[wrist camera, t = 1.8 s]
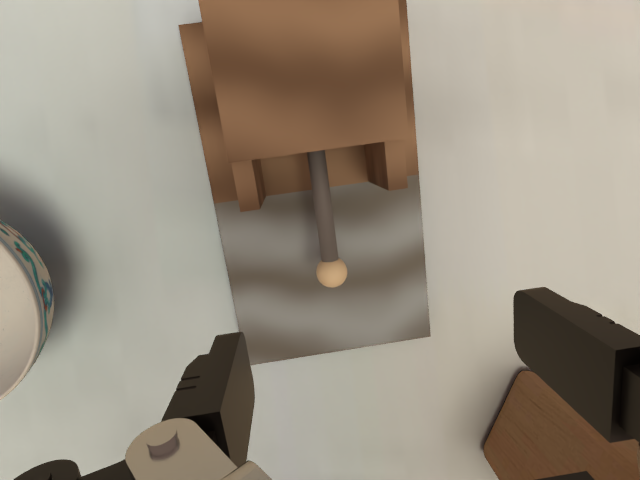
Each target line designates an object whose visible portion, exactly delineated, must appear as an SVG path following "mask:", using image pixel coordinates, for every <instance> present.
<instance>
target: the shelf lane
mask: <svg viewBox="0 0 640 480" xmlns="http://www.w3.org/2000/svg"><path fill="white" fill-rule="evenodd" d="M198 1H199V6H200V12H201V17H202V22H200V23H192V24H184V25H179V30H180V35H181V40H182V45H183V50H184V55H185V60H186V65H187V70H188V75H189V80H190V85H191V90H192V95H193V100H194V105H195V110H196V115H197V120H198V125H199V130H200V135H201V140H202V145H203V150H204V155H205V160H206V165H207V170H208V175H209V180H210V185H211V190H212V195H213V200H214V205H215V210H216V215H217V221H218V226H219V231H220V236H221V241H222V246H223V251H224V256H225V261H226V266H227V271H228V276H229V281H230V286H231V291H232V296H233V301H234V306H235V311H236V316H237V321H238V326H239V331H240V332H243V333H244V336H245V340H246V345H247V350H248V356H249V361H250V365H255V364H261V363H267V362H273V361H280V360H286V359H292V358H298V357H305V356H311V355H317V354H323V353H330V352H336V351H342V350H348V349H355V348H361V347H367V346H373V345H380V344H386V343H392V342H398V341H405V340H411V339H417V338H423V337H430V323H429V309H428V295H427V282H426V268H425V254H424V240H423V226H422V212H421V199H420V185H419V171H418V157H417V143H416V129H415V115H414V102H413V88H412V74H411V60H410V46H409V32H408V19H407V5H406V0H198ZM320 150H325V155H326V163H327V171H328V179H329V187H330V195H331V202H332V210H333V218H334V226H335V234H336V242H337V250H338V257H339V258H340V259H341V260H342V261H343V262H344V263H345V265H346V267H347V277H346V279H345V281H344V282H343V283H342V284H341V285H340V286H337V287H333V288H331V287H326V286H324V285H323V284H321V283H320V281H319V280H318V278H317V275H316V269H317V266H318V264H319V262H320V261H321V260H322V259H321V252H320V245H319V238H318V230H317V223H316V216H315V209H314V201H313V194H312V187H311V180H310V172H309V165H308V158H307V152H313V151H320Z"/></svg>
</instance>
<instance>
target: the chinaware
mask: <svg viewBox="0 0 640 480" xmlns="http://www.w3.org/2000/svg"><path fill="white" fill-rule="evenodd" d="M53 312H54V294H53V287H52V283H51V279H50V276H49V273H48V271H47V268H46V266H45V264H44V262H43V260H42V259H41V257H40V256H39V254H38V253H37V251H36V250H35V249H34V248H33V246H32V245H31V244H30V243H29V242H28V241H27V240H26V239H25V238H24V237H23V236H22V235H21V234H20V233H19V232H17V231H16V230H15V229H13V228H12V227H11V226H9V225H8V224H6V223H5V222H3V221H1V220H0V400H1V399H2V398H4V397H5V396H6V395H8V394H9V393H10V392H11V391H12V390H13V389H14V388H15V387H16V386H17V385H18V384H19V383H20V382H21V381H22V379H23V378H24V377H25V376H26V374H27V373H28V372H29V370H30V369H31V367H32V366H33V364H34V363H35V361H36V359H37V358H38V356H39V354H40V352H41V351H42V349H43V347H44V344H45V342H46V340H47V337H48V334H49V331H50V328H51V324H52V319H53Z"/></svg>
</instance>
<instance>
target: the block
mask: <svg viewBox="0 0 640 480" xmlns="http://www.w3.org/2000/svg"><path fill="white" fill-rule="evenodd" d="M637 446H638V441H636V440H635V439H631V440H625V441H619V442H613V443H609V442H608V441H607V440H606V439H605V438H604V437H603V436H602V435H601V434H600V433H599V432H598V431H596V430H595V429H594V428H593V427H592V426H591V425H590V424H589V423H588V422H587V421H586V420H585V419H584V418H583V417H581V416H580V415H579V414H578V413H577V412H576V411H575V410H574V409H573V408H572V407H571V406H570V405H569V404H568V403H567V402H565V401H564V400H563V399H562V398H561V397H560V396H559V395H558V394H557V393H556V392H555V391H554V390H553V389H552V388H550V387H549V386H548V385H547V384H546V383H545V382H544V381H543V380H542V379H541V378H540V377H539V376H538V375H537V374H536V373H534V372H531V371H521V372H520V373H519V374H518V375H517V377H516V379H515V381H514V384H513V386H512V388H511V390H510V392H509V394H508V396H507V398H506V400H505V402H504V405H503V407H502V409H501V411H500V413H499V415H498V417H497V419H496V421H495V424H494V426H493V428H492V430H491V432H490V434H489V436H488V438H487V440H486V443H485V445H484V455H485V458H486V459H487V461H488V463H489V464H490V466H491V467H492V469H493V471H494V472H495V474H496V475H497V477H498V479H499V480H536V479H542V478H547V477H553V476H559V475H565V474H571V473H577V472H583V471H587V472H588V473H589V474H590V475H591V476H592V477H593V478H594V480H640V477H639V469H638V462H637Z"/></svg>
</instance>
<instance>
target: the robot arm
mask: <svg viewBox="0 0 640 480" xmlns="http://www.w3.org/2000/svg"><path fill="white" fill-rule="evenodd" d="M514 344H515V348H516V351H517V353H518V355H519V357H520V359H521V360H522V361H523V362H524V363H525V364H526V365H527V366H528V367H529V368H530V369H531V370H532V371H533V372H534V373H536V374H537V375H538V376H539V377H540V378H541V379H542V380H543V381H544V382H545V383H546V384H547V385H548V386H549V387H550V388H552V389H553V390H554V391H555V392H556V393H557V394H558V395H559V396H560V397H561V398H562V399H563V400H564V401H565V402H567V403H568V404H569V405H570V406H571V407H572V408H573V409H574V410H575V411H576V412H577V413H578V414H579V415H580V416H581V417H583V418H584V419H585V420H586V421H587V422H588V423H589V424H590V425H591V426H592V427H593V428H594V429H595V430H596V431H598V432H599V433H600V434H601V435H602V436H603V437H604V438H605V439H606V440H607V441H608V442H609V443H613V442H619V441H625V440H631V439H635V440H636V441H638V446H637V462H638V469H639V477H640V335H638V334H636V333H634V332H633V331H631V330H629V329H627V328H625V327H623V326H622V325H620V324H615V322H614V321H612V320H611V319H609V318H607V317H605V316H604V317H602V315H601V314H600V313H598V312H596V311H594V310H592V309H591V308H589V307H587V306H584V305H581V304H577V303H574V302H571V301H569V300H567V299H566V298H564V297H562V296H560V295H558V294H557V293H555V292H553V291H551V290H549V289H548V288H546V287H540V288H533V289H526V290H520V291H517V292H516V293H515V295H514ZM176 390H177V391H175V393H174V395H173V397H172V399H171V401H170V404H169V406H168V408H167V410H166V412H165V414H164V416H163V419H162V421H161V422H160V423H157V424H155V425H153V426H151V427H150V428H148V429H146V430H145V431H143V432H142V433H141V434H140V435H138V436H137V437H136V438H135V439H134V440H133V441H132V443H131V444H130V446H129V447H128V449H127V451H126V455H125V460H123V461H121V462H118V463H116V464H114V465H111V466H108V467H106V468H103V469H101V470H98V471H95V472H93V473H90V474H88V475H85V476H82V477H81V475H80V472H79V469H78V466H77V464H76V463H75V462H73V461H71V460H54V461H50V462H47V463H44V464H41V465H39V466H36V467H34V468H32V469H30V470H28V471H26V472H24V473H23V474H21V475H20V476H18V477H16V478H15V479H14V480H272V479H271V478H270V477H269V476H268V475H267V474H266V473H265V472H264V471H263V470H262V469H261V468H260V467H259V466H258V465H256V464H255V463H254V462H252V461H246V459H247V452H248V445H249V437H250V430H251V423H252V416H253V409H254V400H255V393H254V382H253V377H252V371H251V366H250V361H249V356H248V350H247V345H246V340H245V336H244V333H243V332H237V333H230V334H223V335H217V336H216V337H215V340H214V342H213V345H212V347H211V350H210V352H209V354H205V355H199V356H198V357H197V358H196V359H195V360H193V361H192V362H191V363H190V364H189V365H188V366H187V367H186V369H185V371H184V374H183V376H182V378H181V381H180V382H179V384H178V386H177V389H176ZM536 480H594V478H593V477H592V476H591V475H590V474H589V473H588V472H587V471H583V472H577V473H571V474H565V475H559V476H553V477H547V478H542V479H536Z"/></svg>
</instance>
